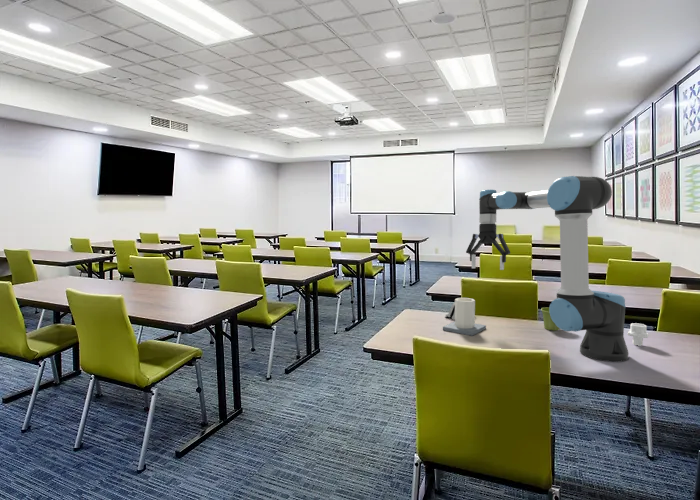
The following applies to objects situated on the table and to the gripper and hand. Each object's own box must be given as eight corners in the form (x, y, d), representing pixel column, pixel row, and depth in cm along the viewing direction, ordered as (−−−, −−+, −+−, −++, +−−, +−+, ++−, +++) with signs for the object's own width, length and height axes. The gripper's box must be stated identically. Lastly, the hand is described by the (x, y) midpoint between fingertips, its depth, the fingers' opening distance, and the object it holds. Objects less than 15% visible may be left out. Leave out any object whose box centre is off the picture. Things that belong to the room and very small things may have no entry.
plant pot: (568, 330, 182) (569, 311, 181) (550, 332, 180) (551, 313, 179) (553, 325, 191) (554, 306, 190) (535, 326, 189) (536, 308, 188)
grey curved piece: (459, 311, 219) (465, 294, 216) (467, 315, 216) (473, 298, 213) (444, 317, 206) (450, 300, 203) (452, 322, 204) (459, 304, 201)
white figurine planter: (626, 345, 161) (627, 325, 161) (628, 341, 167) (629, 321, 166) (646, 348, 157) (647, 328, 157) (648, 344, 163) (649, 324, 162)
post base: (485, 328, 187) (486, 306, 186) (472, 335, 176) (472, 312, 175) (457, 323, 196) (457, 302, 195) (442, 329, 185) (442, 307, 184)
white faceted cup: (476, 325, 186) (477, 299, 185) (469, 329, 180) (469, 302, 179) (460, 322, 192) (460, 297, 190) (452, 326, 186) (452, 300, 184)
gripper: (518, 223, 187) (517, 269, 188) (466, 224, 203) (465, 267, 204) (511, 222, 181) (511, 270, 182) (459, 223, 198) (458, 268, 198)
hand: (487, 269), depth 193 cm, fingers open, 13 cm apart
